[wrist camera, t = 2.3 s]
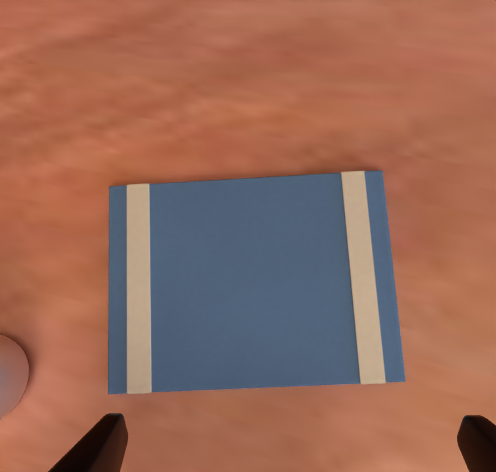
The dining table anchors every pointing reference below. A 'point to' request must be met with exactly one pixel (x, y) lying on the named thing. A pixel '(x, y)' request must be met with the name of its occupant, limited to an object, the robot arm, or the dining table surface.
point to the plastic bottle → (11, 374)
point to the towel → (251, 284)
